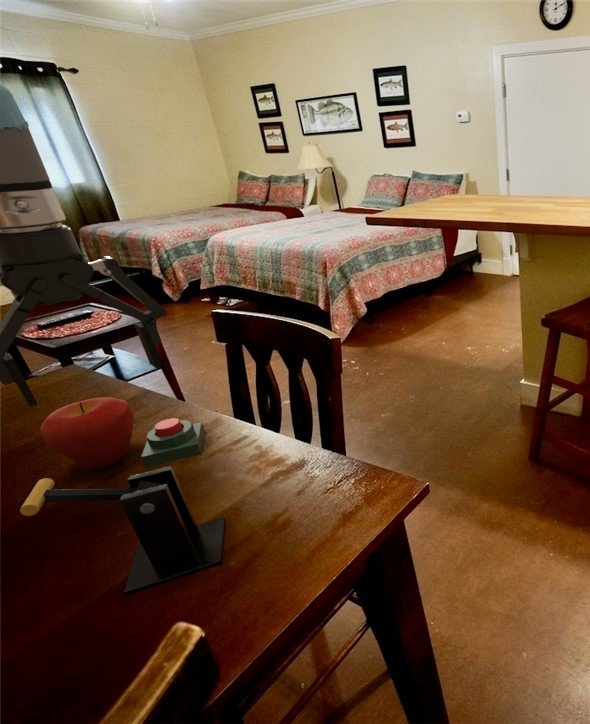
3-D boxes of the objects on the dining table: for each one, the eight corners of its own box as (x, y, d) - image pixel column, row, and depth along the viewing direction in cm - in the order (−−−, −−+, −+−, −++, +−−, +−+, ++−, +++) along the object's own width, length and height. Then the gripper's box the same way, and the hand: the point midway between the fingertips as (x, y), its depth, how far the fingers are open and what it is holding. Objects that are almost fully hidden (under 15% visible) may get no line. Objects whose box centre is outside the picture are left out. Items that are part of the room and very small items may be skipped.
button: (156, 439, 82) (152, 431, 81) (159, 429, 84) (156, 421, 84) (181, 434, 83) (177, 425, 82) (183, 424, 86) (180, 416, 85)
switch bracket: (127, 599, 57) (82, 520, 52) (142, 548, 65) (104, 473, 59) (223, 567, 62) (191, 491, 56) (227, 522, 69) (199, 451, 63)
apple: (154, 437, 88) (129, 380, 83) (140, 470, 80) (112, 409, 75) (78, 453, 84) (47, 394, 79) (54, 489, 75) (18, 426, 70)
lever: (19, 520, 51) (19, 501, 50) (36, 492, 55) (37, 474, 54) (162, 513, 58) (164, 497, 57) (168, 489, 61) (170, 473, 61)
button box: (145, 467, 80) (136, 448, 79) (153, 443, 87) (146, 425, 85) (201, 454, 84) (194, 435, 82) (205, 431, 90) (198, 413, 88)
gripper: (-143, 249, 46) (-29, 432, 55) (160, 217, 64) (208, 358, 73) (-146, 240, 50) (-38, 412, 59) (140, 212, 68) (188, 347, 77)
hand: (98, 382), depth 66 cm, fingers open, 13 cm apart
